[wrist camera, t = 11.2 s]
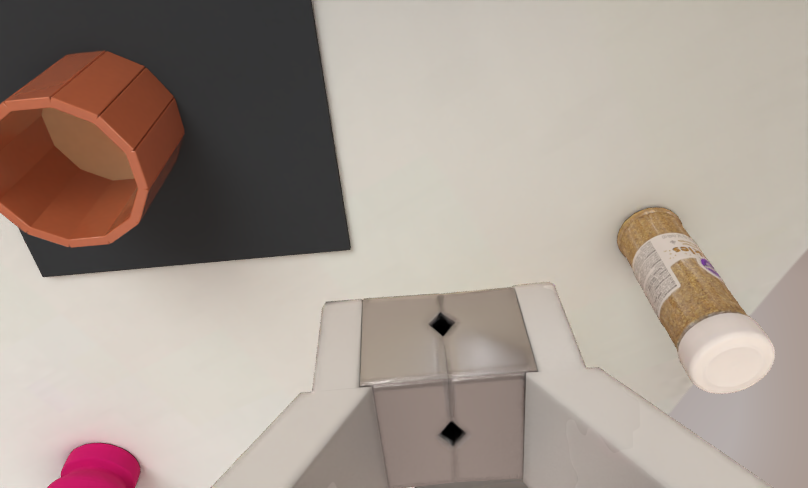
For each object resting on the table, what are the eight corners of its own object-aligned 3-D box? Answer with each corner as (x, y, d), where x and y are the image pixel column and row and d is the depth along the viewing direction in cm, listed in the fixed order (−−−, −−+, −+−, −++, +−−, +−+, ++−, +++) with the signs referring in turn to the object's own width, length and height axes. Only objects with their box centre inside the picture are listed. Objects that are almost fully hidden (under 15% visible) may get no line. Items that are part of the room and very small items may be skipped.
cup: (159, 44, 37) (14, 58, 37) (113, 90, 30) (-61, 107, 31) (198, 176, 41) (69, 188, 42) (166, 239, 35) (14, 253, 35)
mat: (-121, -63, 34) (-126, -62, 33) (294, -105, 33) (293, -104, 33) (45, 274, 46) (42, 277, 45) (350, 246, 45) (350, 250, 45)
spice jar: (692, 216, 45) (797, 348, 33) (655, 266, 47) (742, 405, 36) (636, 196, 44) (725, 326, 32) (602, 248, 46) (673, 386, 35)
